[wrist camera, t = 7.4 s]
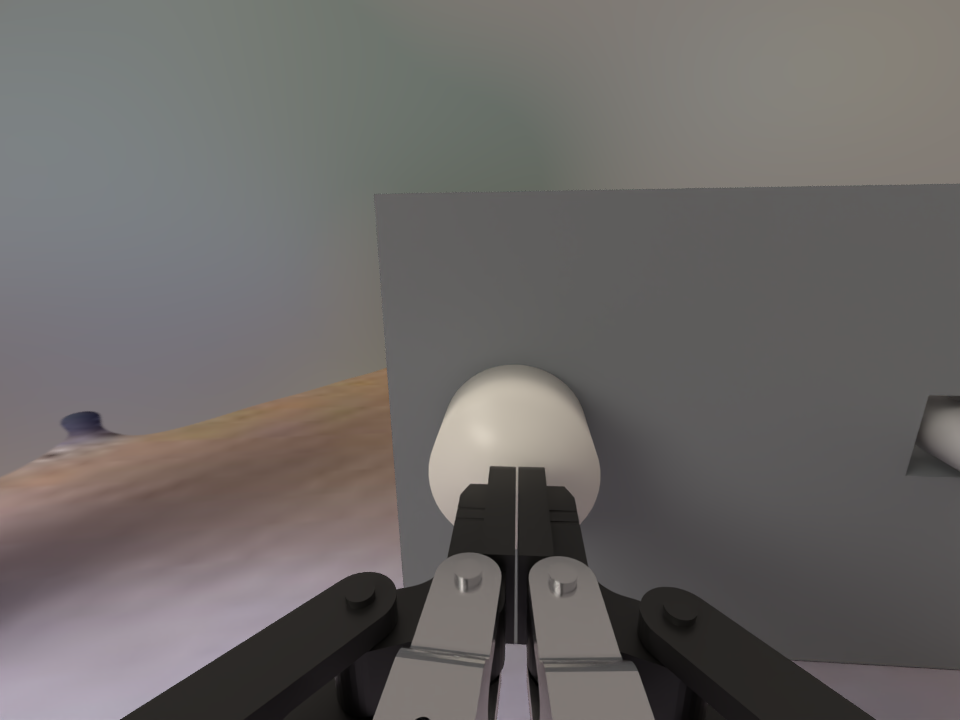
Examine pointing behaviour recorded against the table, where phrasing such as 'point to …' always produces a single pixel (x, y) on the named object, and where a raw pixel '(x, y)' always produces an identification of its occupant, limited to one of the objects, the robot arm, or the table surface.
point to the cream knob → (514, 437)
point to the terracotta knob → (941, 429)
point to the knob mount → (710, 390)
